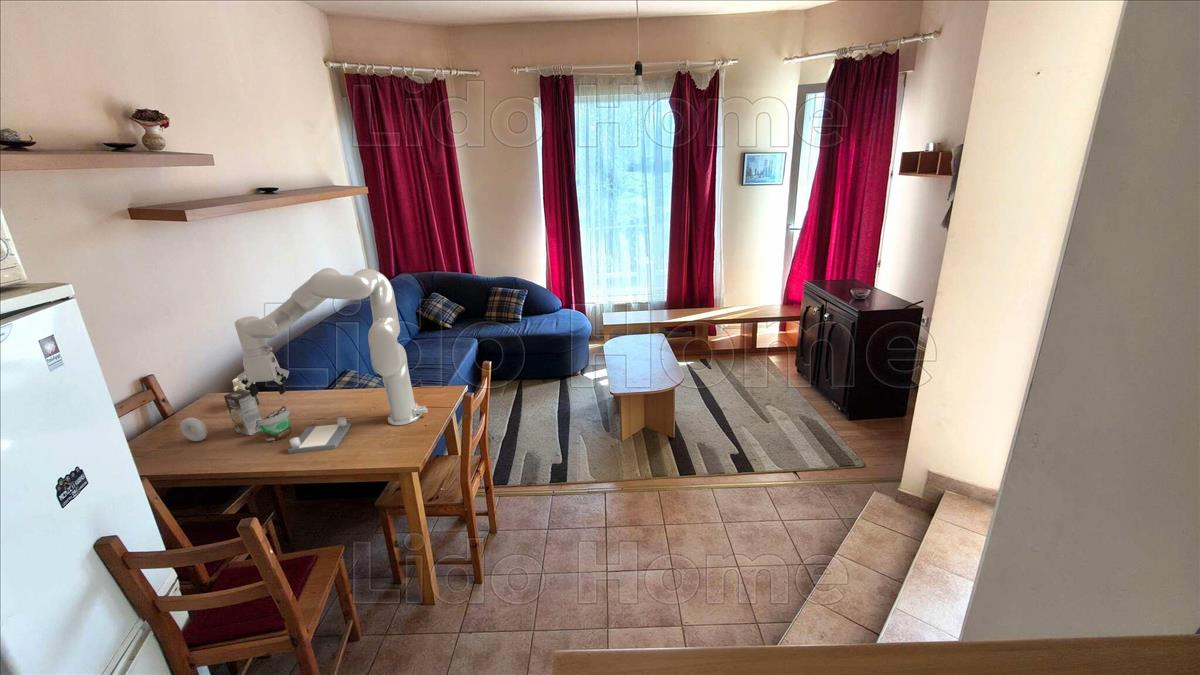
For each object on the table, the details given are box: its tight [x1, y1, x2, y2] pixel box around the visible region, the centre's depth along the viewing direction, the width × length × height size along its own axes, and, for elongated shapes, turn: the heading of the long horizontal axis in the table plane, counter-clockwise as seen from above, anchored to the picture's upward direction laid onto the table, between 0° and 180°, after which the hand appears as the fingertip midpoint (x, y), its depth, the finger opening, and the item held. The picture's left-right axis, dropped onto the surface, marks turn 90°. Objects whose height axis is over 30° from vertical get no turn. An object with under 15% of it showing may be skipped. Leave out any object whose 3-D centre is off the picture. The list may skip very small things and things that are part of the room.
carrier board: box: [287, 416, 352, 455], centre depth 184 cm, size 16×16×4 cm
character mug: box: [232, 375, 260, 405], centre depth 213 cm, size 11×7×13 cm, turn 175°
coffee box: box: [223, 389, 263, 436], centre depth 192 cm, size 9×6×16 cm
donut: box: [180, 416, 208, 442], centre depth 187 cm, size 10×4×10 cm, turn 79°
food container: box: [257, 405, 293, 443], centre depth 187 cm, size 12×6×10 cm, turn 168°
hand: (269, 394), depth 182 cm, fingers open, 9 cm apart
